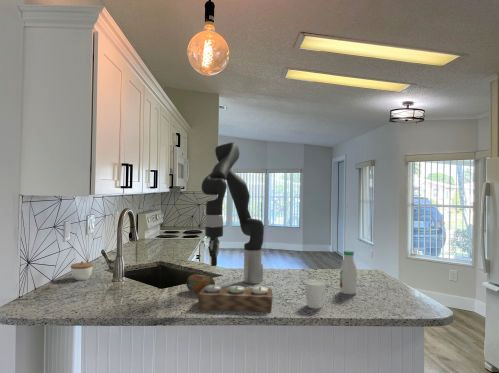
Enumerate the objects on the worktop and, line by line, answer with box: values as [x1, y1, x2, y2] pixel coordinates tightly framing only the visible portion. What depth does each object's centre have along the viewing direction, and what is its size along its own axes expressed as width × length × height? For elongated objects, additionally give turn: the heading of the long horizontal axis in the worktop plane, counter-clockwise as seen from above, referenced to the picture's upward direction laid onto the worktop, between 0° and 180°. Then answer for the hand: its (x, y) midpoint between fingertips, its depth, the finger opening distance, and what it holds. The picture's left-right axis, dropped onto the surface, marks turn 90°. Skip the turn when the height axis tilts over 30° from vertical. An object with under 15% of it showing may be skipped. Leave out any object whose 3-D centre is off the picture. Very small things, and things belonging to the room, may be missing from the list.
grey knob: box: [205, 284, 222, 293], centre depth 156 cm, size 7×7×5 cm
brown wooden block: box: [197, 286, 273, 313], centre depth 155 cm, size 30×12×6 cm, turn 85°
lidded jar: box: [70, 260, 94, 281], centre depth 196 cm, size 11×11×9 cm
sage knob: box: [228, 285, 245, 294], centre depth 155 cm, size 7×7×5 cm
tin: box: [186, 273, 216, 294], centre depth 173 cm, size 15×3×8 cm, turn 62°
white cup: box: [305, 279, 326, 310], centre depth 156 cm, size 8×8×10 cm
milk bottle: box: [339, 249, 358, 296], centre depth 176 cm, size 8×8×20 cm
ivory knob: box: [251, 286, 269, 295], centre depth 154 cm, size 7×7×5 cm
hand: (214, 265), depth 156 cm, fingers closed
